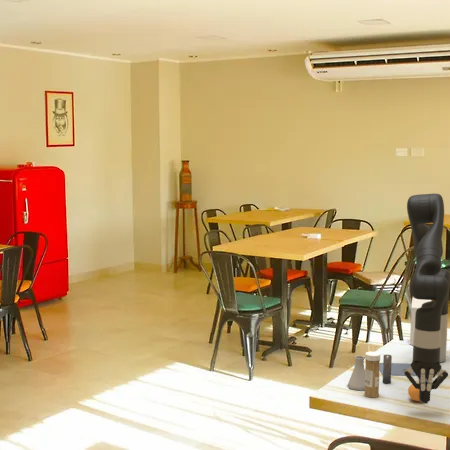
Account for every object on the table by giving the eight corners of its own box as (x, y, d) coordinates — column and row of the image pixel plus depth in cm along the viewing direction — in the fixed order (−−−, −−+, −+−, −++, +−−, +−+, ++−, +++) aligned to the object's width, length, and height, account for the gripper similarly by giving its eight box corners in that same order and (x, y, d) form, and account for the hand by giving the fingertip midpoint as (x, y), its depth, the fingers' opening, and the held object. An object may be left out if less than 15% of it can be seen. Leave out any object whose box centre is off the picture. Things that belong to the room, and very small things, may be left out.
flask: (370, 392, 223) (371, 361, 222) (346, 390, 225) (347, 359, 224) (370, 384, 230) (371, 354, 229) (347, 382, 232) (348, 352, 231)
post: (381, 381, 233) (382, 354, 232) (389, 381, 233) (390, 354, 232) (383, 383, 231) (384, 356, 230) (391, 384, 231) (392, 357, 230)
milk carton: (428, 347, 273) (431, 298, 271) (409, 345, 276) (411, 297, 273) (429, 342, 280) (431, 294, 278) (411, 340, 282) (413, 293, 280)
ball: (406, 397, 219) (406, 380, 218) (423, 397, 218) (424, 380, 218) (409, 403, 213) (410, 386, 213) (428, 404, 213) (428, 386, 212)
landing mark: (375, 363, 252) (375, 362, 252) (412, 364, 252) (412, 363, 252) (381, 375, 239) (381, 374, 239) (420, 376, 239) (420, 375, 239)
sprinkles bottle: (381, 397, 218) (383, 354, 217) (367, 398, 217) (369, 355, 216) (375, 392, 223) (376, 350, 221) (361, 393, 222) (362, 351, 220)
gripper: (446, 341, 207) (444, 398, 209) (401, 339, 208) (398, 397, 210) (453, 348, 200) (451, 407, 202) (406, 347, 201) (403, 406, 202)
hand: (424, 402), depth 206 cm, fingers closed
